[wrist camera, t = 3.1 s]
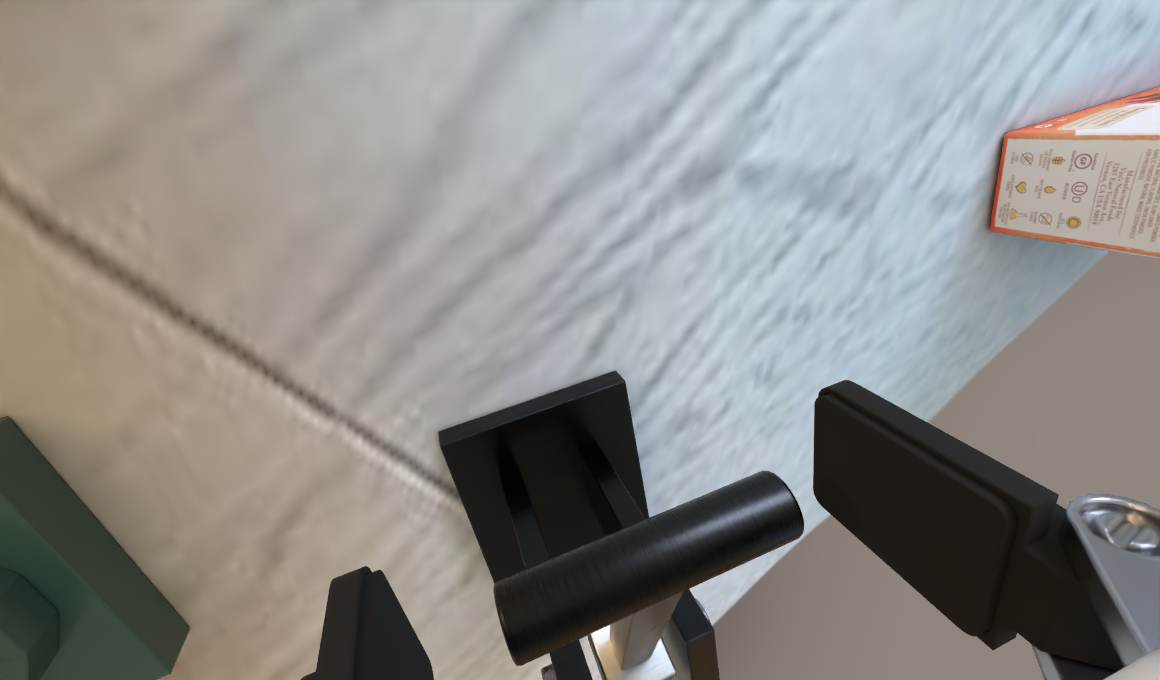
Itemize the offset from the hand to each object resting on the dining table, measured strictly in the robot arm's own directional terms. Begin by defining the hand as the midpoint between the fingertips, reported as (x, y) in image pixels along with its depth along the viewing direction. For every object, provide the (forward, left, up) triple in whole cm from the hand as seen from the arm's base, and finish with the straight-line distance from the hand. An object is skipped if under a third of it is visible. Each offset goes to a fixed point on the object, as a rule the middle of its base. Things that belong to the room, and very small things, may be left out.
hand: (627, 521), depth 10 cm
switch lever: (+4, -2, -2) cm, 5 cm away
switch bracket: (+8, -5, -13) cm, 17 cm away
